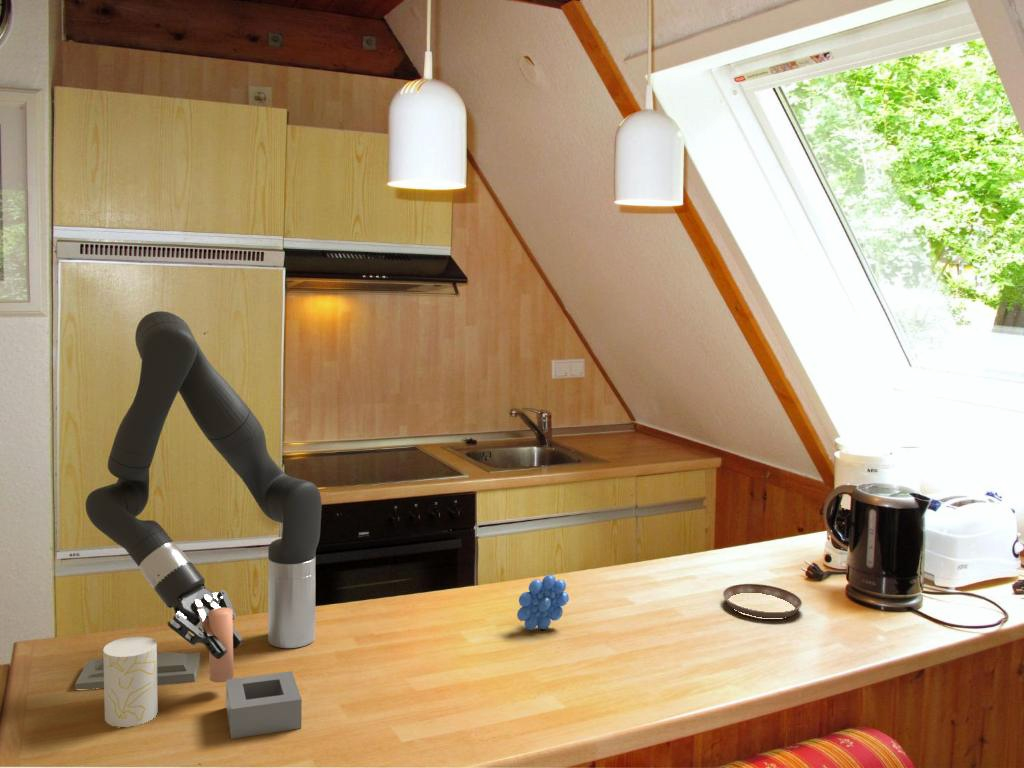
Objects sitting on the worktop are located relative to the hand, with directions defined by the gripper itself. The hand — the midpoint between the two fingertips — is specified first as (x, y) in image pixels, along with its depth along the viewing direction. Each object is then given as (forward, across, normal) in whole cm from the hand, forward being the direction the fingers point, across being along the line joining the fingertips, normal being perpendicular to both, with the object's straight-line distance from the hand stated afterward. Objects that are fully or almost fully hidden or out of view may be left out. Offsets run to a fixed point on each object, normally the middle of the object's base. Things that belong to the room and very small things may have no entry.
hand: (230, 650), depth 158 cm
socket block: (+13, -5, -1) cm, 14 cm away
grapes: (+36, +51, -23) cm, 66 cm away
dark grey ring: (+67, +83, -53) cm, 119 cm away
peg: (+2, 0, +5) cm, 6 cm away
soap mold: (-8, 0, +20) cm, 22 cm away
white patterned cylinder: (-2, -12, +13) cm, 18 cm away
